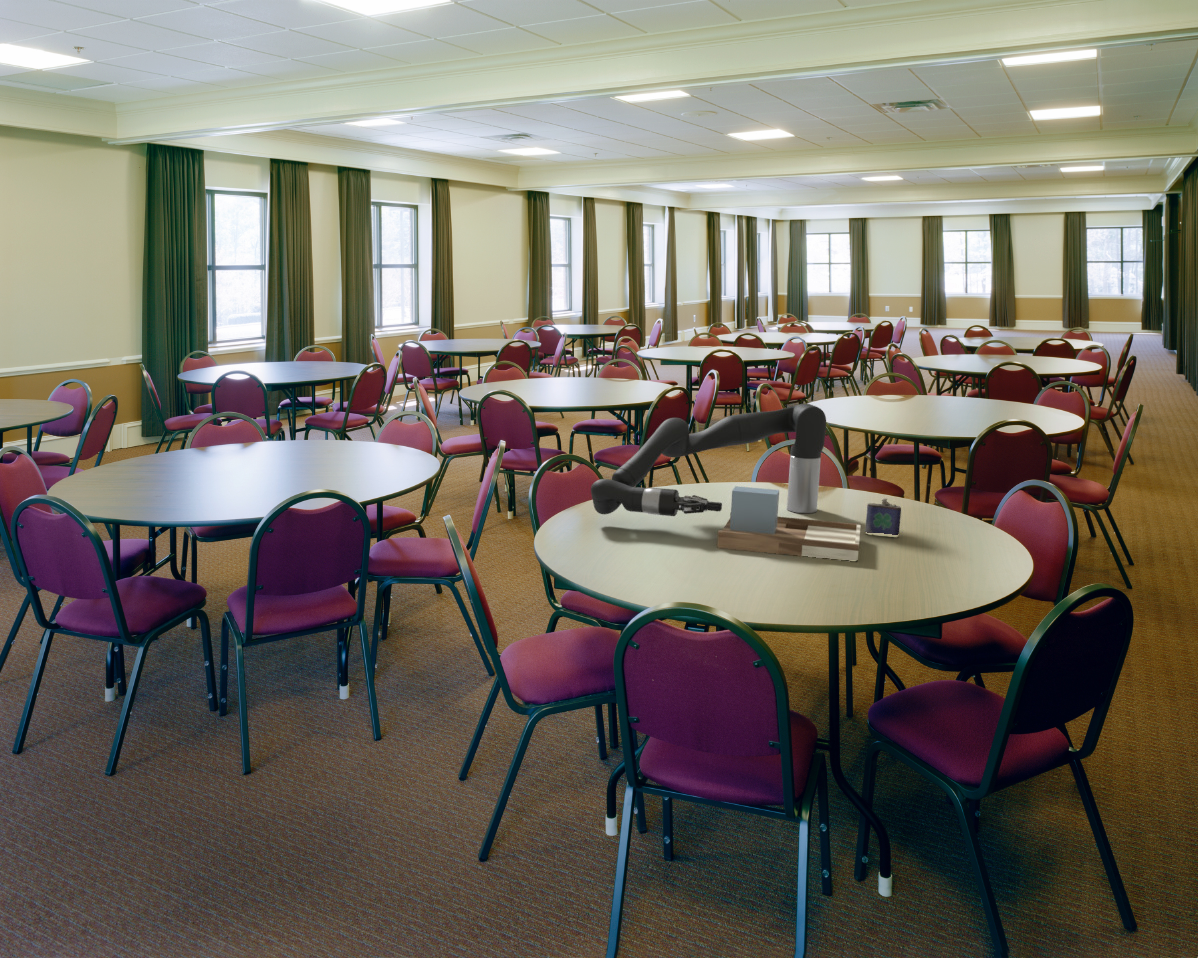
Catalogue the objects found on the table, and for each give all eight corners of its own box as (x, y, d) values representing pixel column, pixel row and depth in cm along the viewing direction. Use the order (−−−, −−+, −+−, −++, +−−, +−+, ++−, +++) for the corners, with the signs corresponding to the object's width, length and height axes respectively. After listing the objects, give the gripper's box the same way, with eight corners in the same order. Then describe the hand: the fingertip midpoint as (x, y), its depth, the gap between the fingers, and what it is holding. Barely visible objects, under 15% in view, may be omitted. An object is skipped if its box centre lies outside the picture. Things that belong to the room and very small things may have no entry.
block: (733, 524, 248) (735, 486, 246) (776, 528, 245) (779, 489, 243) (730, 529, 243) (732, 490, 240) (774, 534, 239) (777, 494, 237)
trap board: (730, 527, 257) (730, 512, 256) (859, 539, 247) (860, 524, 246) (717, 547, 236) (718, 531, 235) (857, 562, 226) (859, 545, 225)
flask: (864, 534, 252) (867, 498, 250) (865, 532, 255) (869, 495, 253) (898, 539, 249) (901, 502, 246) (899, 536, 251) (903, 499, 249)
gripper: (655, 493, 243) (718, 499, 238) (665, 483, 256) (726, 488, 251) (654, 520, 245) (716, 526, 240) (665, 509, 257) (724, 514, 252)
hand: (721, 507), depth 245 cm, fingers closed
